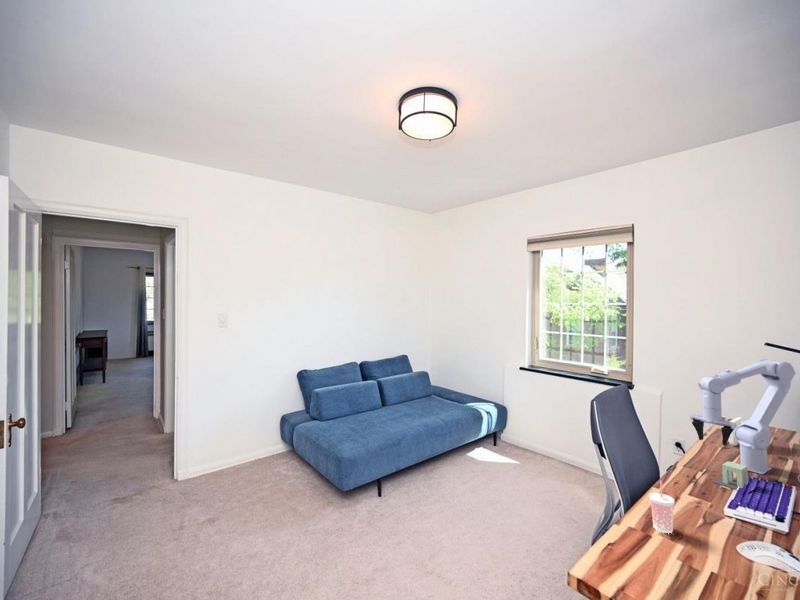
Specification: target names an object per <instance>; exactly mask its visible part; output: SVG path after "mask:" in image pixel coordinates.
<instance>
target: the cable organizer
mask: <svg viewBox="0 0 800 600" xmlns="http://www.w3.org/2000/svg"><path fill="white" fill-rule="evenodd" d="M743 421H746V420H745V418H744V417H741V416H737V417H735V418H732V419H731V420H729V422H733V423H737V427H738V426H739V425H741V423H742V422H743ZM734 430H735V429H734ZM734 430H733V431H732V433H731V435H730V437H729V439H728V442H729V445H731V446H734V447H736V446H738V445H740V443H738V440H737V439H736V438H735V436H734ZM756 431H757V430H756Z"/></svg>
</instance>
